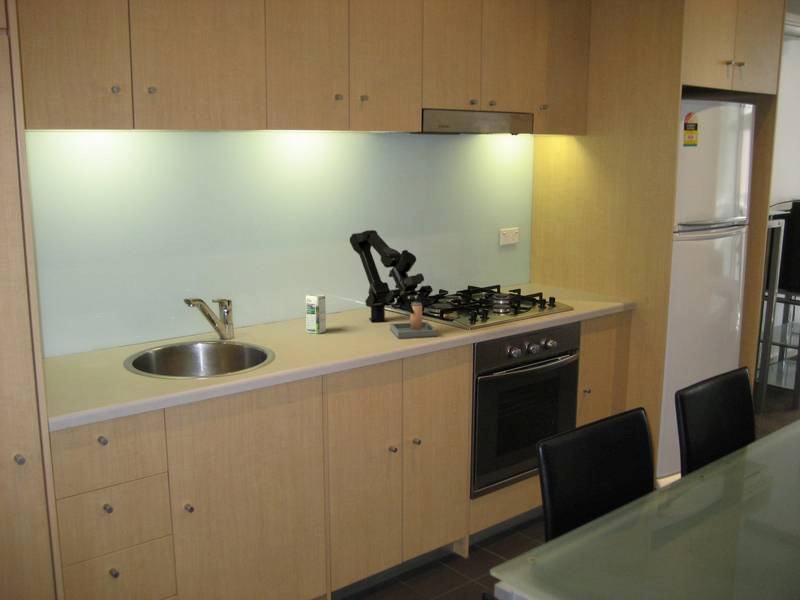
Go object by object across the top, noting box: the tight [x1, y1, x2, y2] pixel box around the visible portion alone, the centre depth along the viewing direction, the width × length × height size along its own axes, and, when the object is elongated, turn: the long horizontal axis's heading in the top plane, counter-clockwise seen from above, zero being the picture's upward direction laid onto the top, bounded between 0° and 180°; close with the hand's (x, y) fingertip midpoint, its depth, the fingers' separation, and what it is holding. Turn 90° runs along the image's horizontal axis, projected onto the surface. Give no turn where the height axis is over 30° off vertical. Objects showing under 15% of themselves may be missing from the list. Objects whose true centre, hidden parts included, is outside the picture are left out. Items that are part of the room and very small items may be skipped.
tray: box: [389, 321, 438, 340], centre depth 304 cm, size 15×15×2 cm
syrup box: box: [305, 294, 327, 335], centre depth 306 cm, size 6×6×14 cm
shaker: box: [409, 301, 423, 330], centre depth 302 cm, size 4×4×10 cm
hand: (418, 312), depth 301 cm, fingers closed on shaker, 4 cm apart
